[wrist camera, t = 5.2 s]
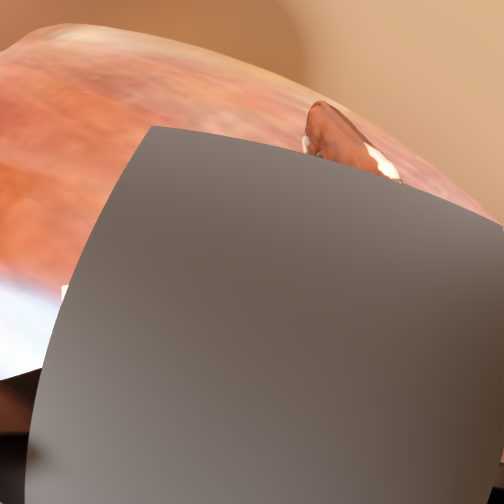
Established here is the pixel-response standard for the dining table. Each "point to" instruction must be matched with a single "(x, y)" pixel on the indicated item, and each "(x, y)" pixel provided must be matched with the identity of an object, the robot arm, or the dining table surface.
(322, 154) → the bull figurine
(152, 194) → the wooden block
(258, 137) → the dining table surface
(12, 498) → the robot arm
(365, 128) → the dining table surface
